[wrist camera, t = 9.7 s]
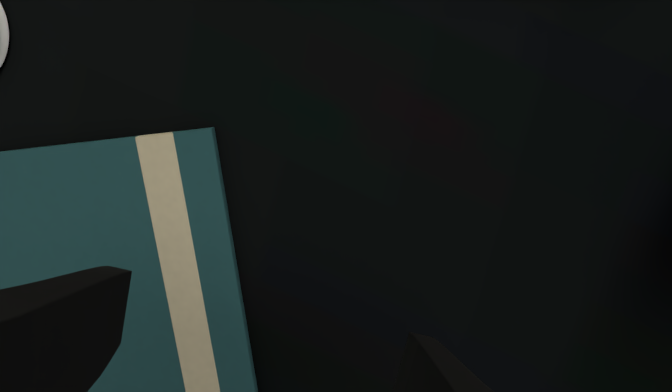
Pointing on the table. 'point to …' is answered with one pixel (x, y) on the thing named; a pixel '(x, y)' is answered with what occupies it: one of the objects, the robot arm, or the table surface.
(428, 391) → the robot arm
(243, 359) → the towel
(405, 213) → the table surface
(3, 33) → the chess piece
